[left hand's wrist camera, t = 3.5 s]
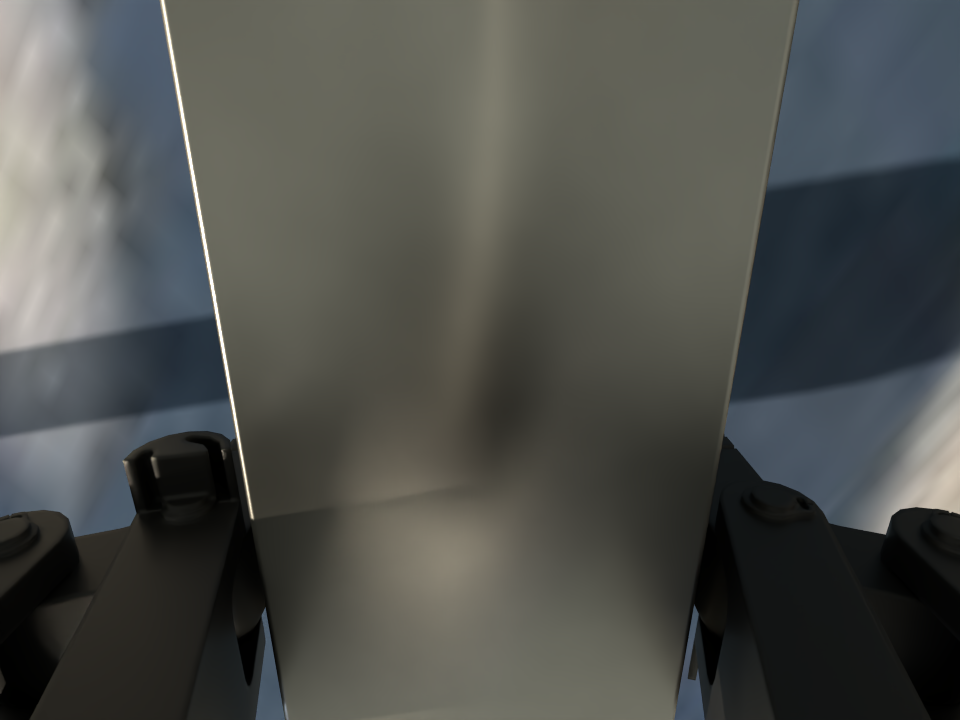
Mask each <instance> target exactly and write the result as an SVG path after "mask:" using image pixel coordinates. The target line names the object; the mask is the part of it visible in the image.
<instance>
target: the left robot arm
mask: <svg viewBox="0 0 960 720" xmlns="http://www.w3.org/2000/svg"><path fill="white" fill-rule="evenodd" d="M123 463H124V467H125V471H126V474H127V478H128V482H129V486H130V490H131V494H132V497H133V501H134V505H135V509H136V513H137V514H136V516H135V518H134V520H133V521H132V523H131V525H130V526H128V527H124V528H120V529H116V530H110V531H105V532H100V533H95V534H89V535H84V536H79V537H74V535H73V531H72V528H71V525H70V522H69V519H68V518H67V517H66V516H64V515H63V514H62V513H60V512H55V511H47V510H40V511H30V512H19V513H14V514H12V515H11V516H9V515H7V516H3V517H0V720H255V718H256V711H257V703H258V695H259V687H260V680H261V672H262V664H263V657H264V649H265V634H264V627H263V622H262V616H261V615H262V613H263V611H264V609H265V601H264V595H263V589H262V584H261V578H260V572H259V567H258V561H257V555H256V549H255V544H254V538H253V532H252V526H251V521H250V515H249V509H248V504H247V498H246V492H245V486H244V481H243V475H242V469H241V463H240V458H239V452H238V446H237V441H236V439H233V440H232V441H231V442H230V440H229V439H228V438H226V437H225V436H224V435H222V434H219V433H214V432H209V431H191V432H184V433H178V434H173V435H168V436H165V437H162V438H159V439H156V440H153V441H150V442H148V443H146V444H145V445H143V446H141V447H139V448H137V449H135V450H134V451H132V452H131V453H130V454H129V455H128V456H127V457H126V458H125V459H124V460H123ZM694 604H695V607H696V609H697V611H698V613H699V616H698V622H697V627H696V633H695V638H694V644H693V650H692V655H691V661H690V666H689V673H688V679H692V680H696V675H697V670H698V671H699V678H700V686H701V694H702V702H703V709H704V717H705V720H960V514H957V513H953V512H951V513H949V511H945V510H940V509H928V508H918V507H915V508H908V509H900V510H899V511H898V512H896V513H895V514H894V515H892V517H891V520H890V523H889V527H888V530H887V533H886V535H884V534H879V533H874V532H869V531H863V530H858V529H853V528H848V527H842V526H838V525H834V524H830V523H829V522H828V520H827V519H826V517H825V515H824V513H823V512H822V510H821V509H820V508H819V507H818V506H817V505H816V503H815V502H814V501H812V500H811V499H809V498H808V497H806V496H805V495H803V494H802V493H800V492H798V491H796V490H793V489H791V488H788V487H786V486H783V485H781V484H777V483H772V482H768V481H763V480H762V479H761V478H760V476H759V475H758V474H757V473H756V472H755V470H754V469H753V468H752V467H751V466H750V464H749V463H748V462H747V461H746V460H745V458H744V457H743V456H742V455H741V453H740V452H739V451H738V450H737V449H734V445H733V444H732V443H731V441H730V440H729V439H728V438H727V437H724V435H723V441H722V447H721V453H720V458H719V464H718V470H717V476H716V481H715V487H714V493H713V499H712V504H711V510H710V516H709V522H708V527H707V533H706V539H705V544H704V550H703V556H702V562H701V567H700V573H699V579H698V585H697V590H696V596H695V602H694Z"/></svg>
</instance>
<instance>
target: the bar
mask: <svg viewBox="0 0 960 720" xmlns="http://www.w3.org/2000/svg"><path fill="white" fill-rule="evenodd" d="M160 5H161V11H162V17H163V23H164V28H165V34H166V40H167V45H168V51H169V57H170V63H171V68H172V74H173V80H174V86H175V91H176V97H177V103H178V108H179V114H180V120H181V126H182V131H183V137H184V143H185V149H186V154H187V160H188V166H189V171H190V177H191V183H192V189H193V194H194V200H195V206H196V212H197V217H198V223H199V229H200V234H201V240H202V246H203V252H204V257H205V263H206V269H207V275H208V280H209V286H210V292H211V297H212V303H213V309H214V315H215V320H216V326H217V332H218V337H219V343H220V349H221V355H222V360H223V366H224V372H225V378H226V383H227V389H228V395H229V400H230V406H231V412H232V418H233V423H234V429H235V435H236V441H237V446H238V452H239V458H240V463H241V469H242V475H243V481H244V486H245V492H246V498H247V504H248V509H249V515H250V521H251V526H252V532H253V538H254V544H255V549H256V555H257V561H258V567H259V572H260V578H261V584H262V589H263V595H264V601H265V607H266V612H267V618H268V624H269V630H270V635H271V641H272V647H273V652H274V658H275V664H276V670H277V675H278V681H279V687H280V693H281V698H282V704H283V710H284V715H285V720H674V717H675V711H676V705H677V699H678V694H679V688H680V682H681V677H682V671H683V665H684V659H685V654H686V648H687V642H688V636H689V631H690V625H691V619H692V613H693V608H694V602H695V596H696V590H697V585H698V579H699V573H700V567H701V562H702V556H703V550H704V544H705V539H706V533H707V527H708V522H709V516H710V510H711V504H712V499H713V493H714V487H715V481H716V476H717V470H718V464H719V458H720V453H721V447H722V441H723V435H724V430H725V424H726V418H727V412H728V407H729V401H730V395H731V389H732V384H733V378H734V372H735V367H736V361H737V355H738V349H739V344H740V338H741V332H742V326H743V321H744V315H745V309H746V303H747V298H748V292H749V286H750V280H751V275H752V269H753V263H754V257H755V252H756V246H757V240H758V234H759V229H760V223H761V217H762V211H763V206H764V200H765V194H766V189H767V183H768V177H769V171H770V166H771V160H772V154H773V148H774V143H775V137H776V131H777V125H778V120H779V114H780V108H781V102H782V97H783V91H784V85H785V79H786V74H787V68H788V62H789V56H790V51H791V45H792V39H793V34H794V28H795V22H796V16H797V11H798V5H799V0H160Z"/></svg>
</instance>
